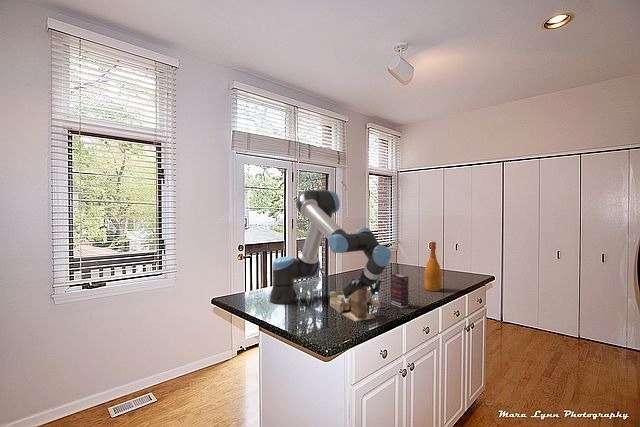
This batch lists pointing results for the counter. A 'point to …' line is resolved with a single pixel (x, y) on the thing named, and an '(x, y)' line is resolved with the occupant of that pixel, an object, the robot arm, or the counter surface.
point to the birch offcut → (345, 306)
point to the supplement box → (399, 290)
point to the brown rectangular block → (359, 303)
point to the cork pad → (356, 317)
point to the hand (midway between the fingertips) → (356, 299)
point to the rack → (339, 305)
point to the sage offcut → (341, 298)
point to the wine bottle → (432, 271)
